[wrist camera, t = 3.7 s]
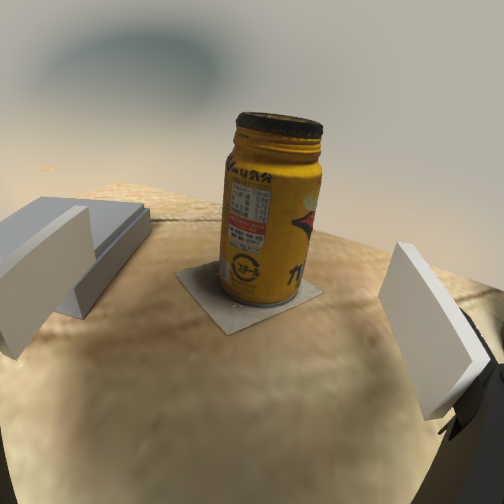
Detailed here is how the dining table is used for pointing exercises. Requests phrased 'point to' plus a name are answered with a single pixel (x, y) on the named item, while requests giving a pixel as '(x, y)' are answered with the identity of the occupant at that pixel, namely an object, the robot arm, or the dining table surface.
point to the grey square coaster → (103, 234)
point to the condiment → (262, 223)
